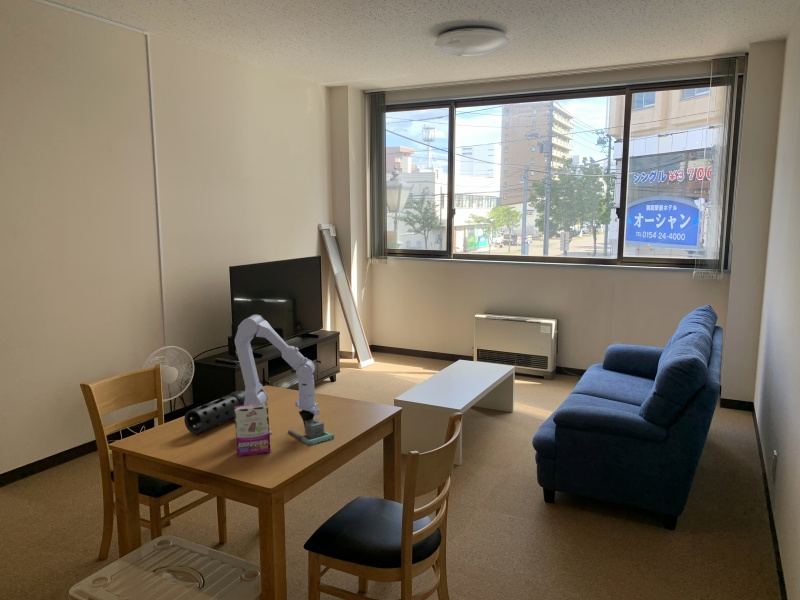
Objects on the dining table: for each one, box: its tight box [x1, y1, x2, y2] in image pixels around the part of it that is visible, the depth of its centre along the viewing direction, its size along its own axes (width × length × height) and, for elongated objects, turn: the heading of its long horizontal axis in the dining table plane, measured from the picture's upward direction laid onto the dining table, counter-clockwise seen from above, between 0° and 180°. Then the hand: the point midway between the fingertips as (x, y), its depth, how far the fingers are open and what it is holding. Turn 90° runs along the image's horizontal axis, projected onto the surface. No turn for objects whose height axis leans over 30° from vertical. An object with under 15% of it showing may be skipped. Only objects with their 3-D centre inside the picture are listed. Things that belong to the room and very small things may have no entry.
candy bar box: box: [234, 402, 271, 458], centre depth 203 cm, size 11×5×16 cm, turn 106°
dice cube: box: [304, 417, 325, 440], centre depth 218 cm, size 5×5×5 cm
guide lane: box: [287, 429, 335, 446], centre depth 219 cm, size 10×16×2 cm, turn 38°
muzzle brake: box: [184, 390, 245, 436], centre depth 232 cm, size 10×28×10 cm, turn 154°
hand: (308, 429), depth 220 cm, fingers closed, pressing on dice cube
